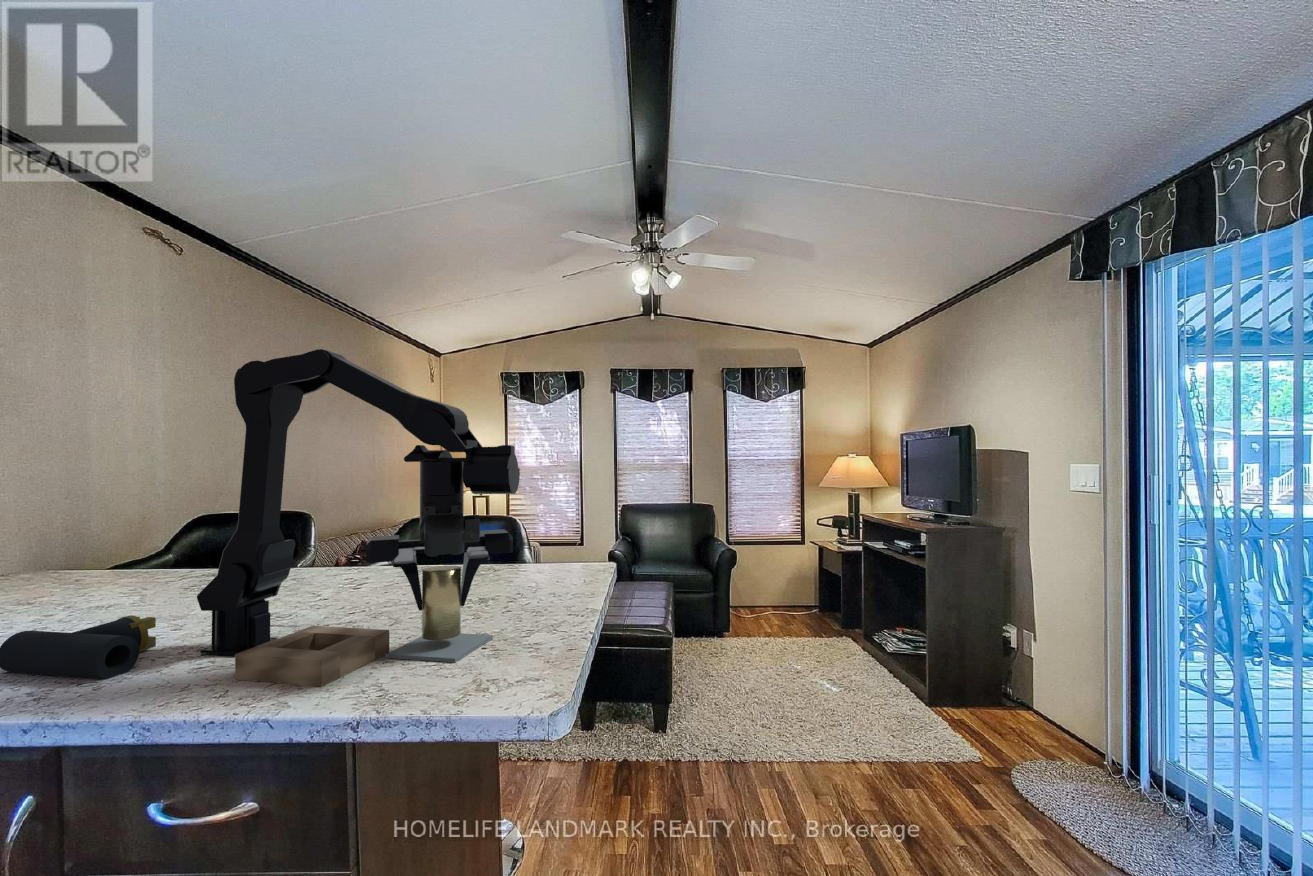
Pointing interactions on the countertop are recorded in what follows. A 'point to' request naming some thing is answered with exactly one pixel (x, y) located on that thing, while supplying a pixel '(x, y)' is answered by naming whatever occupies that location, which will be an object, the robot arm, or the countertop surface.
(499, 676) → the countertop surface
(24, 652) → the pipe connector
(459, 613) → the end plug
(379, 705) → the countertop surface
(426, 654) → the mat
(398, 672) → the countertop surface
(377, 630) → the housing
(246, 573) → the robot arm
